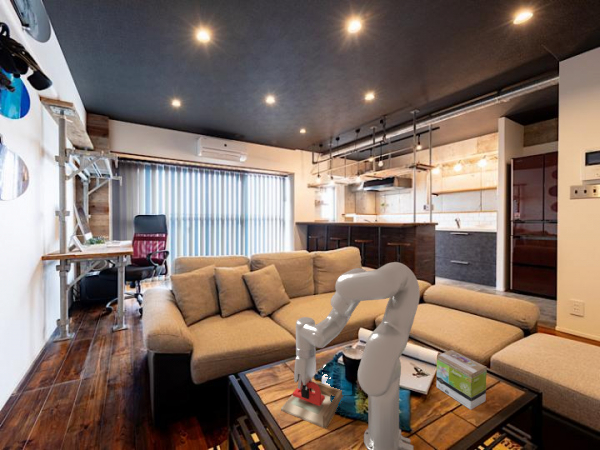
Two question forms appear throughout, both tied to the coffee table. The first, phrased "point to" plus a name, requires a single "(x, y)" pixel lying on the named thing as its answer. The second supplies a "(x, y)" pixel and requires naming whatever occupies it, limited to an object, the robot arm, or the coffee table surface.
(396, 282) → the robot arm
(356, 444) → the coffee table surface
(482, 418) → the coffee table surface
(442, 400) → the coffee table surface
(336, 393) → the tray
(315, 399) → the bracket
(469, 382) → the tea box
